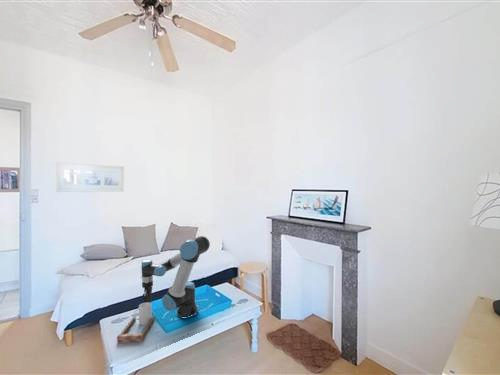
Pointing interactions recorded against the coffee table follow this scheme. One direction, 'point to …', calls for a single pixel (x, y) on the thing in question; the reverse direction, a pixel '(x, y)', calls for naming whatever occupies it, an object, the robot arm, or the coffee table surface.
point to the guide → (134, 337)
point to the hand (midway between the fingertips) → (148, 312)
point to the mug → (144, 313)
